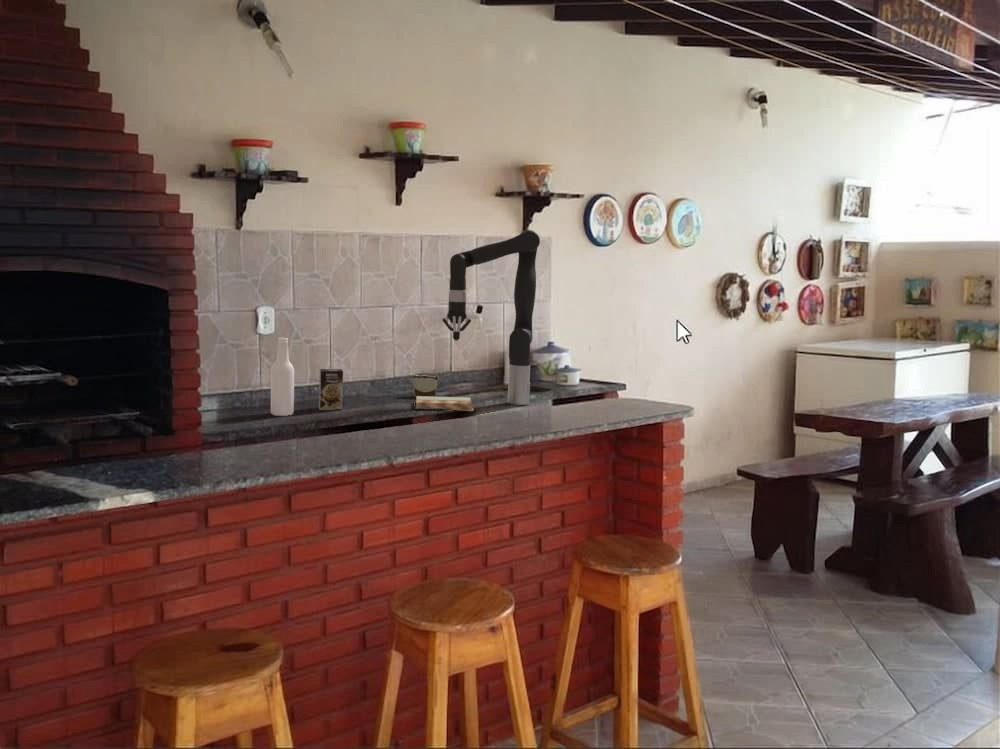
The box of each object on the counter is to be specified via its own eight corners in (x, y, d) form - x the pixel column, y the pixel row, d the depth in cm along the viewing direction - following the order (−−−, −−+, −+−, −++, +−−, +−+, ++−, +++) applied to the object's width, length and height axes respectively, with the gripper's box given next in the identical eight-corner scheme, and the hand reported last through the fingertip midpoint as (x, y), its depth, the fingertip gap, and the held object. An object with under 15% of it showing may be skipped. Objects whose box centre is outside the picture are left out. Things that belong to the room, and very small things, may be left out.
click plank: (469, 403, 406) (470, 397, 406) (471, 406, 398) (471, 400, 398) (416, 401, 404) (416, 396, 404) (416, 405, 396) (416, 399, 396)
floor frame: (471, 403, 408) (471, 396, 407) (473, 411, 392) (474, 403, 391) (414, 402, 405) (414, 395, 405) (414, 409, 389) (415, 402, 389)
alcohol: (288, 417, 363) (289, 339, 359) (266, 415, 365) (267, 338, 360) (297, 412, 372) (298, 337, 367) (276, 411, 373) (276, 336, 369)
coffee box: (319, 410, 379) (320, 370, 376) (318, 407, 385) (319, 368, 382) (342, 410, 381) (343, 370, 379) (341, 407, 387) (341, 368, 385)
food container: (440, 395, 424) (441, 373, 422) (438, 398, 418) (439, 375, 416) (413, 394, 425) (414, 372, 423) (411, 396, 419) (411, 374, 417)
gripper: (472, 300, 410) (470, 339, 413) (441, 299, 409) (440, 339, 411) (473, 301, 403) (472, 341, 405) (442, 300, 401) (441, 341, 404)
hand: (456, 340), depth 408 cm, fingers closed
